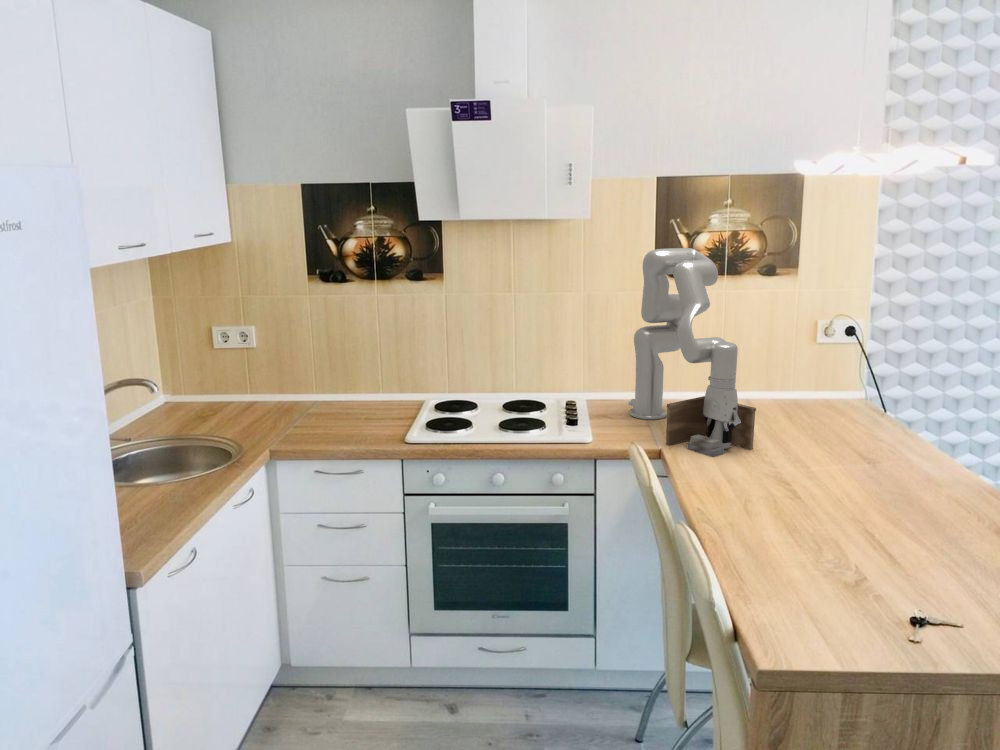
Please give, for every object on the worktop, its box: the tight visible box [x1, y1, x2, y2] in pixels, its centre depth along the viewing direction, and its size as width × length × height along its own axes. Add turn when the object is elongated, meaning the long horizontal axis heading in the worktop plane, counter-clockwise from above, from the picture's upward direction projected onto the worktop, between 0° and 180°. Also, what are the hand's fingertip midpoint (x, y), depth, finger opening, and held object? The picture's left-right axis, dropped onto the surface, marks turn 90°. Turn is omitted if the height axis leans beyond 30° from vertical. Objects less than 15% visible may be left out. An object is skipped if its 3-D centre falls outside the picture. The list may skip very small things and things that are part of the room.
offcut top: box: [689, 434, 719, 450], centre depth 260 cm, size 8×4×2 cm, turn 38°
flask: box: [710, 420, 732, 449], centre depth 263 cm, size 7×7×10 cm
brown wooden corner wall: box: [665, 395, 757, 451], centre depth 264 cm, size 19×18×13 cm
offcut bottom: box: [686, 442, 725, 458], centre depth 261 cm, size 10×5×2 cm, turn 36°
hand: (719, 439), depth 264 cm, fingers closed on flask, 5 cm apart
